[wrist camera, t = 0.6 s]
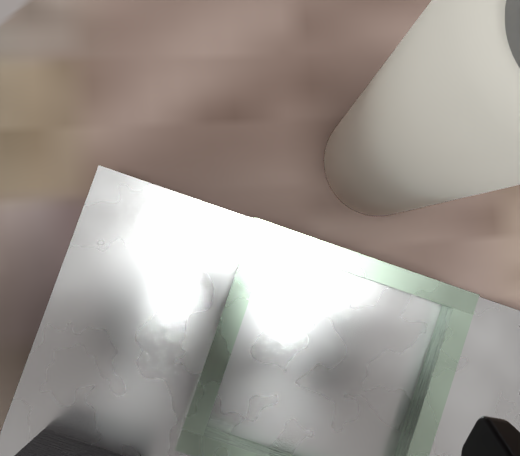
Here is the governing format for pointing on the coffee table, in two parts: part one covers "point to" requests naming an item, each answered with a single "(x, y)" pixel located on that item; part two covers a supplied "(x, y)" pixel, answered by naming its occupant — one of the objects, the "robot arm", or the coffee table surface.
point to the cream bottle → (435, 114)
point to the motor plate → (250, 343)
